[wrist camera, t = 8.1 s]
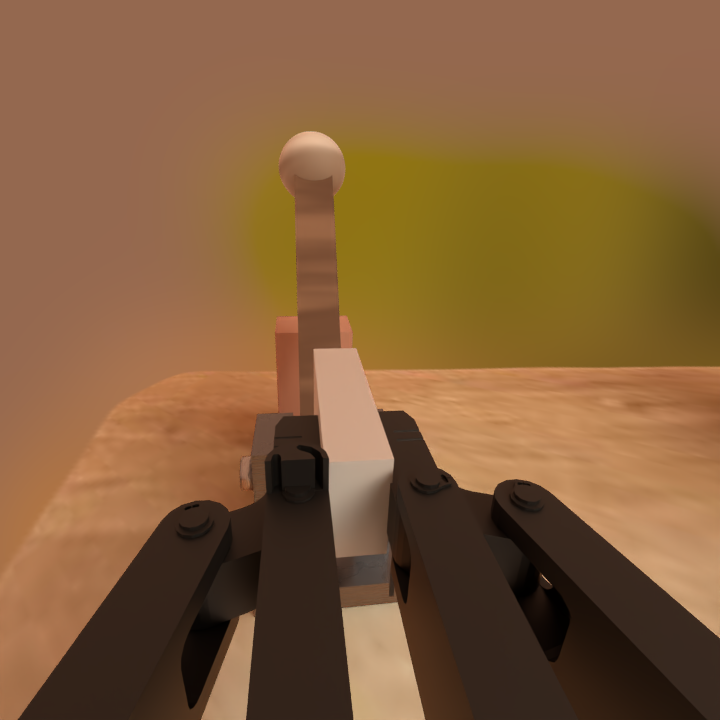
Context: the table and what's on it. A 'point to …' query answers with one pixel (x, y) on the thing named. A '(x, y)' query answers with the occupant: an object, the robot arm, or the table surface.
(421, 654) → the robot arm
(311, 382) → the lever
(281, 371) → the stop block
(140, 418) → the table surface
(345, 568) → the press base
